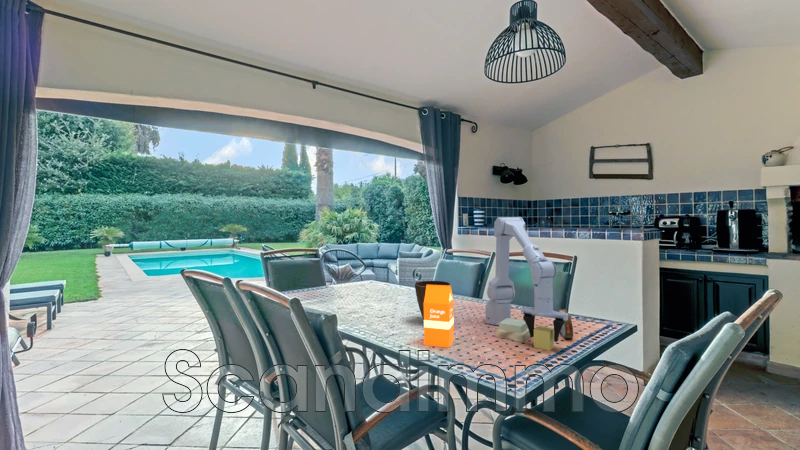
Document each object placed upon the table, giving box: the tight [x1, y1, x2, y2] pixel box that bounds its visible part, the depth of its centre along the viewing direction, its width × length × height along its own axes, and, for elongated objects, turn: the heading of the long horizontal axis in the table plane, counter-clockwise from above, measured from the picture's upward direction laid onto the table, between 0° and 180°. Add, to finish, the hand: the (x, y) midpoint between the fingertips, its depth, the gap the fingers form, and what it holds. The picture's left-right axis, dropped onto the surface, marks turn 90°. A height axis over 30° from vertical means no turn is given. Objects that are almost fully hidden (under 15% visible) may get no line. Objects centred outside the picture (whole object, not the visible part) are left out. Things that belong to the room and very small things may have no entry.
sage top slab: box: [498, 318, 528, 334], centre depth 128 cm, size 8×8×2 cm
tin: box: [556, 308, 574, 339], centre depth 129 cm, size 15×3×8 cm, turn 166°
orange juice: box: [423, 285, 455, 349], centre depth 123 cm, size 8×9×20 cm
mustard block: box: [533, 325, 555, 351], centre depth 117 cm, size 5×5×6 cm
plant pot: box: [414, 280, 451, 321], centre depth 148 cm, size 15×15×16 cm
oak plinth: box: [494, 327, 531, 343], centre depth 128 cm, size 10×10×2 cm
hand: (544, 338), depth 117 cm, fingers open, 7 cm apart
